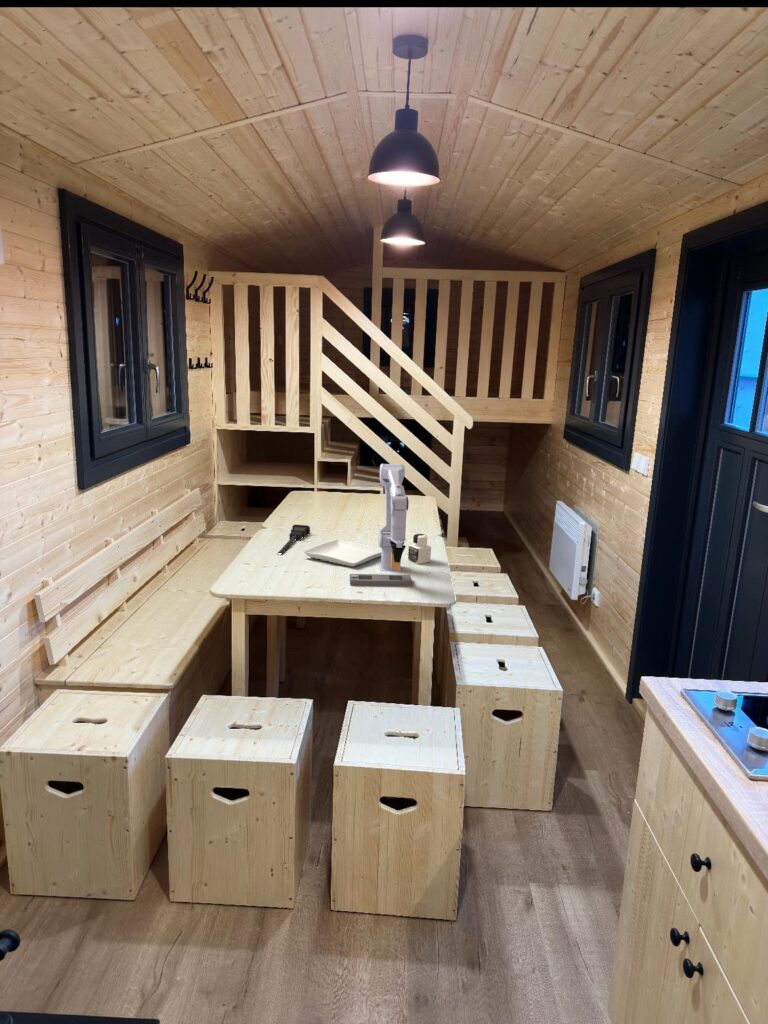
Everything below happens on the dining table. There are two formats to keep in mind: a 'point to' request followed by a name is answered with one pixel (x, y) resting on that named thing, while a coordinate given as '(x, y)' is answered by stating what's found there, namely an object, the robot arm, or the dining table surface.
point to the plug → (394, 564)
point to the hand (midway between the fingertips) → (396, 560)
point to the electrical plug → (296, 535)
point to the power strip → (380, 580)
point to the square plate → (344, 552)
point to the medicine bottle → (419, 550)
